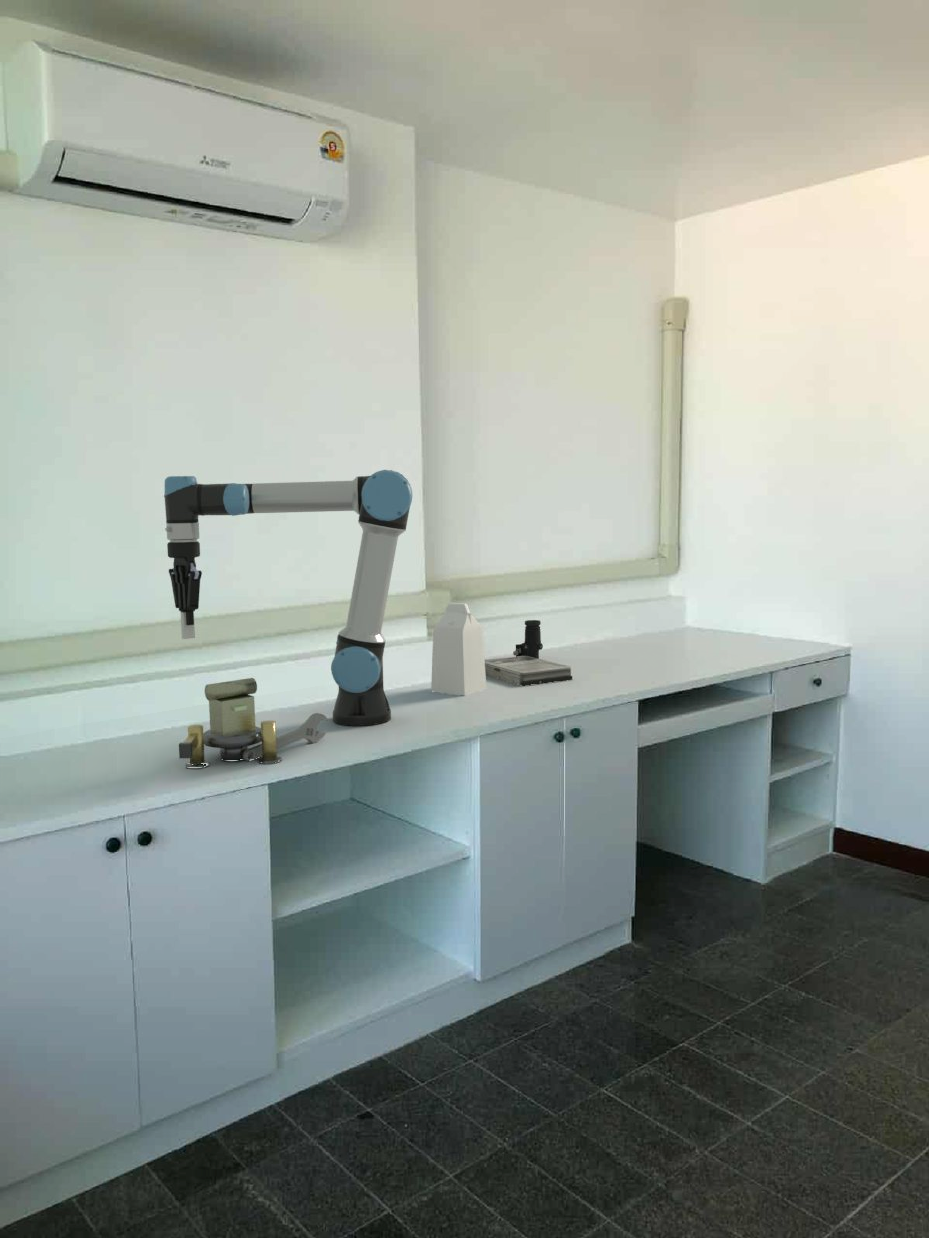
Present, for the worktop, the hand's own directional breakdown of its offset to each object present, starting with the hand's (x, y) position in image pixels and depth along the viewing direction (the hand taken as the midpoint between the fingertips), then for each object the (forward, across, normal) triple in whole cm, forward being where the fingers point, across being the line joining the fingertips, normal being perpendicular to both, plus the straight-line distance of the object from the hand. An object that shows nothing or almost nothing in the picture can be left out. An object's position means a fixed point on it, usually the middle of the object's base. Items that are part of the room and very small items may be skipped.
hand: (188, 638), depth 246 cm
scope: (+25, -18, +135) cm, 138 cm away
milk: (+25, +4, +83) cm, 87 cm away
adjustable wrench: (+23, +29, +10) cm, 38 cm away
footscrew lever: (+24, +30, -15) cm, 41 cm away
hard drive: (+25, +2, +112) cm, 115 cm away
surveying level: (+24, +26, -5) cm, 36 cm away
